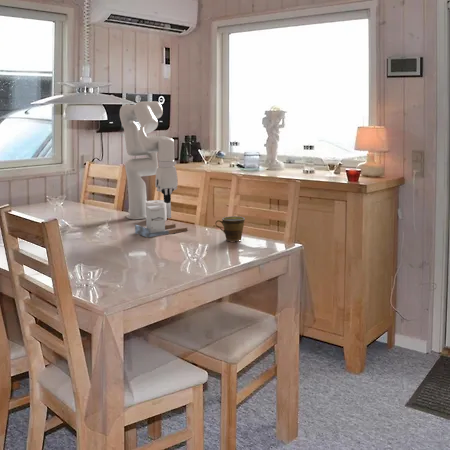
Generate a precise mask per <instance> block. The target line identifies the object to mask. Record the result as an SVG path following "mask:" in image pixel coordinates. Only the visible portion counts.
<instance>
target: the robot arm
mask: <svg viewBox="0 0 450 450" xmlns="http://www.w3.org/2000/svg"><path fill="white" fill-rule="evenodd" d="M130 104H131V103H126V104H123V105H122V106H120V109H119V118H120V119H119V120H120V122H121V125H122V127H123V131H124V141H125V150H126V153H127V155H128V156H130V157H131V156H132V157H136V158H131V159H128V160H127V161H126V162H125V165H124V169H125V173H126V180H127V190H128V191H127V192H128V193H127V194H128V209H127V212H128V214H127V215H126V218H127V219H129V220H146V202H147V201H148V200H147V184H146V181H145V180H144V179H143V178H142V177H148V176H150V177H151V176H155V180H154V181H155V185H154V186H155V188H156V191H157V192H161V194H162V195H163V200H164V202H165V203H170V201H171V199H172V196H171V195H172V194H173V192H174V191H176V190H177V189H178V173H177V168H176V166H175V165H177V164H178V163H177V161H176V160H175V140H174V139H173V138H171V137H168V136H165V135H161V136H160V135H159V136H157V135H156V136H155V135H154V136H147V135H148V134H150V133H152V132H154V131H155V130H156V129H157V128H158V126H159V121H158V119H160V118H161V117H162V116H163V114H164V113H163V112H164V111H163V106H162V104H161V102H159V101H156V100H154V101H153V100H152V101H151V100H150V101H147V100H146V101H138V102H137V103H135V104H136V105H130ZM136 121H137V122H138V123H139V124H138V123H137V122H136ZM139 125H140V126H139ZM140 156H141V157H140ZM143 156H146V157H143ZM138 157H139V158H138ZM171 202H172V201H171Z"/></svg>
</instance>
